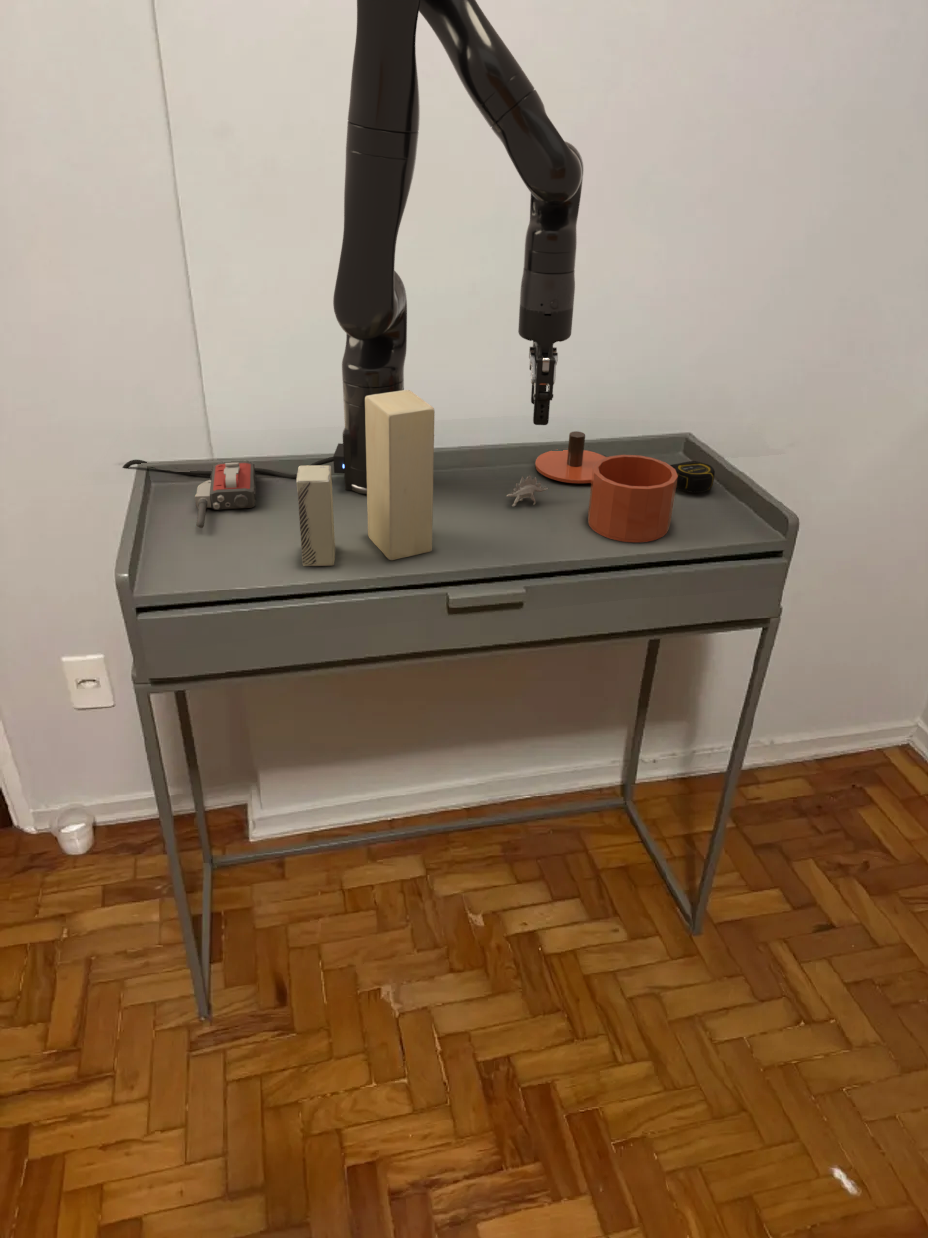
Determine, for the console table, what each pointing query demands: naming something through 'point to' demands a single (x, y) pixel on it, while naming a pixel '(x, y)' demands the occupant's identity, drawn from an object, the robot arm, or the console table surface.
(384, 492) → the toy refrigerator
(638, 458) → the pot
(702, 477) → the tape measure
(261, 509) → the console table surface
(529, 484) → the stegosaurus
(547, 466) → the lid
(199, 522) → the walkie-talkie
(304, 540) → the box
